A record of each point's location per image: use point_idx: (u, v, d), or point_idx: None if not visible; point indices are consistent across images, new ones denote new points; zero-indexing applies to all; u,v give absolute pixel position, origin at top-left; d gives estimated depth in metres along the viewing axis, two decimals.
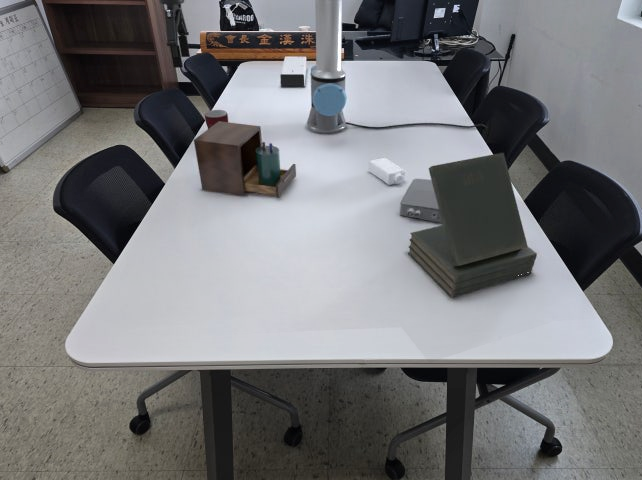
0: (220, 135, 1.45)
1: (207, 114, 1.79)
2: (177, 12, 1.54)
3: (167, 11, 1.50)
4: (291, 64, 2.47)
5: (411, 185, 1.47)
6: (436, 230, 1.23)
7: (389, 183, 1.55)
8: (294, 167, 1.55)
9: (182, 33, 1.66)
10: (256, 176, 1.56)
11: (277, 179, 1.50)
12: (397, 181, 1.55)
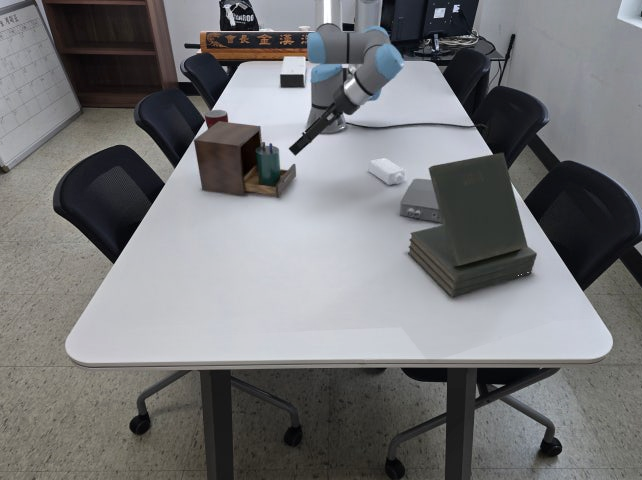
0: (220, 135, 1.45)
1: (207, 114, 1.79)
2: (338, 116, 1.33)
3: (330, 114, 1.28)
4: (290, 64, 2.47)
5: (411, 185, 1.47)
6: (436, 230, 1.23)
7: (389, 183, 1.55)
8: (294, 167, 1.55)
9: None
10: (256, 176, 1.56)
11: (277, 179, 1.50)
12: (397, 181, 1.55)
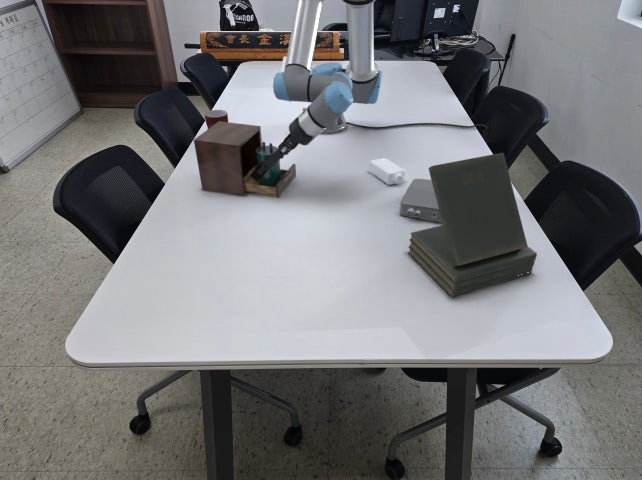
0: (220, 135, 1.45)
1: (207, 114, 1.79)
2: (294, 146, 1.42)
3: (283, 148, 1.38)
4: None
5: (411, 185, 1.47)
6: (436, 230, 1.23)
7: (389, 183, 1.55)
8: (294, 167, 1.55)
9: None
10: None
11: (277, 179, 1.50)
12: (397, 181, 1.55)
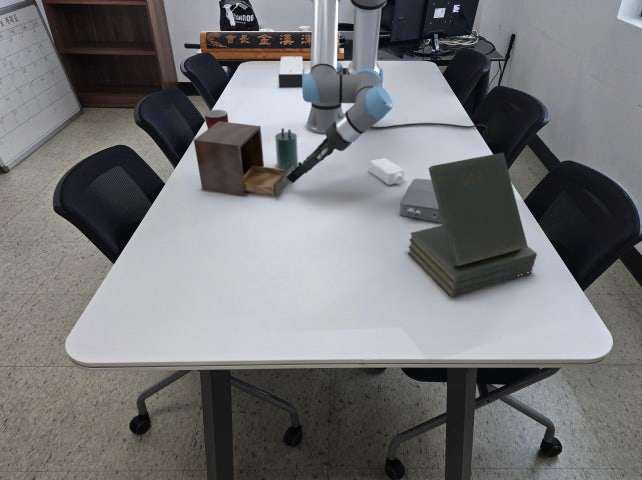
0: (220, 135, 1.45)
1: (207, 114, 1.79)
2: (330, 152, 1.40)
3: (317, 156, 1.37)
4: (288, 64, 2.47)
5: (411, 185, 1.47)
6: (436, 230, 1.23)
7: (389, 183, 1.55)
8: (292, 167, 1.55)
9: None
10: (254, 176, 1.57)
11: (294, 163, 1.64)
12: (397, 181, 1.55)
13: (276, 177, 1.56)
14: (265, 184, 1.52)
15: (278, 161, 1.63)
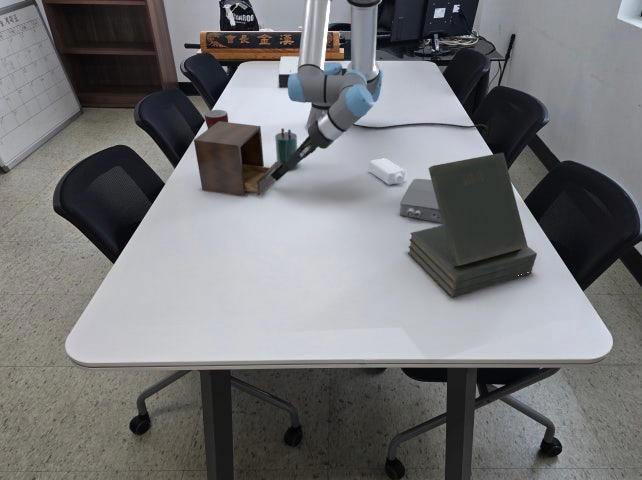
0: (220, 135, 1.45)
1: (207, 114, 1.79)
2: (313, 150, 1.41)
3: (300, 154, 1.38)
4: (288, 64, 2.47)
5: (411, 185, 1.47)
6: (436, 230, 1.23)
7: (389, 183, 1.55)
8: (277, 165, 1.57)
9: None
10: None
11: None
12: (397, 181, 1.55)
13: (261, 175, 1.57)
14: (249, 182, 1.53)
15: (278, 161, 1.63)
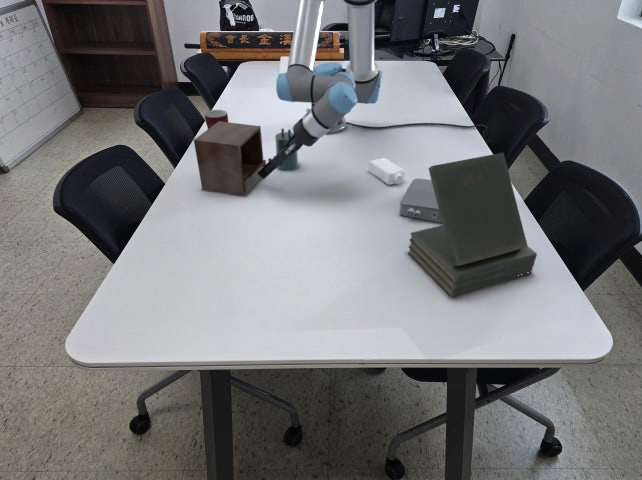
0: (220, 135, 1.45)
1: (207, 114, 1.79)
2: (298, 147, 1.42)
3: (285, 151, 1.39)
4: None
5: (411, 185, 1.47)
6: (436, 230, 1.23)
7: (389, 183, 1.55)
8: (264, 163, 1.57)
9: None
10: None
11: (294, 163, 1.64)
12: (397, 181, 1.55)
13: (248, 173, 1.58)
14: None
15: None
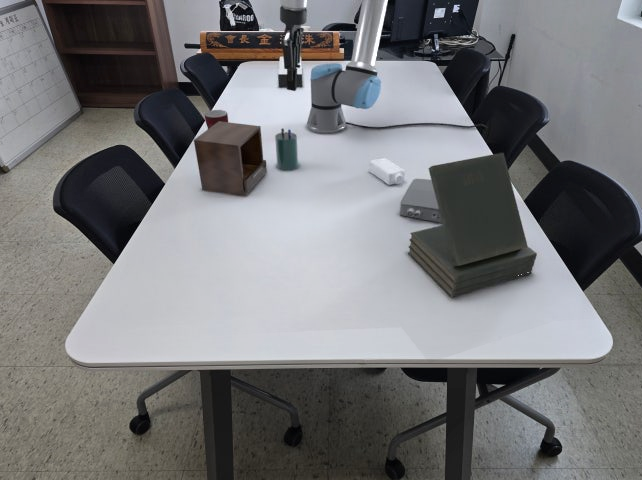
0: (220, 135, 1.45)
1: (207, 114, 1.79)
2: (295, 33, 1.41)
3: (284, 42, 1.40)
4: None
5: (411, 185, 1.47)
6: (436, 230, 1.23)
7: (389, 183, 1.55)
8: (264, 163, 1.57)
9: None
10: None
11: (294, 163, 1.64)
12: (397, 181, 1.55)
13: (249, 173, 1.58)
14: None
15: (278, 161, 1.63)
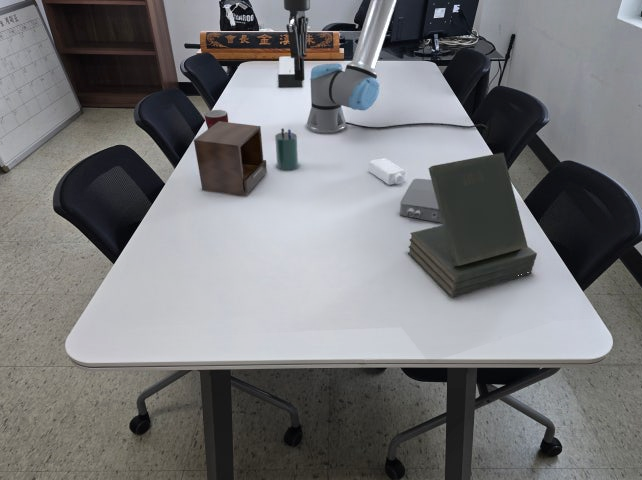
0: (220, 135, 1.45)
1: (207, 114, 1.79)
2: (300, 19, 1.43)
3: (289, 28, 1.41)
4: (287, 64, 2.47)
5: (411, 185, 1.47)
6: (436, 230, 1.23)
7: (389, 183, 1.55)
8: (264, 163, 1.57)
9: None
10: None
11: (294, 163, 1.64)
12: (397, 181, 1.55)
13: (249, 173, 1.58)
14: None
15: (278, 161, 1.63)
